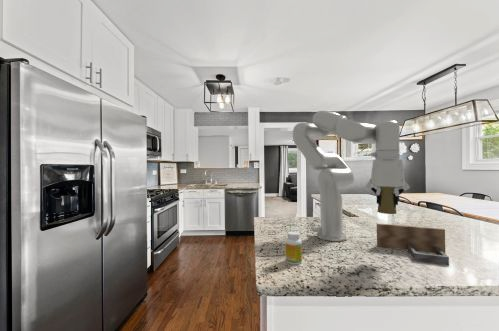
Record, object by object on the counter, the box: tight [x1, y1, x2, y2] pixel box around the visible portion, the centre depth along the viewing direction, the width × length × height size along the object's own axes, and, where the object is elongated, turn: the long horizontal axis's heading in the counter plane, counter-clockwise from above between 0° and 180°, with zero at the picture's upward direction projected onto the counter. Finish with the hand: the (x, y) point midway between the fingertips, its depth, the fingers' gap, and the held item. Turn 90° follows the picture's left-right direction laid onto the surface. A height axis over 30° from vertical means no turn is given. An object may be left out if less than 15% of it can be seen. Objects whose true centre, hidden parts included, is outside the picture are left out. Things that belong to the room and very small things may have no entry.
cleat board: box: [376, 222, 450, 266], centre depth 86 cm, size 22×13×9 cm, turn 66°
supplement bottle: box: [285, 231, 303, 266], centre depth 80 cm, size 5×5×10 cm
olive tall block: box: [376, 187, 397, 215], centre depth 86 cm, size 6×6×11 cm
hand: (387, 205), depth 86 cm, fingers closed on olive tall block, 3 cm apart
